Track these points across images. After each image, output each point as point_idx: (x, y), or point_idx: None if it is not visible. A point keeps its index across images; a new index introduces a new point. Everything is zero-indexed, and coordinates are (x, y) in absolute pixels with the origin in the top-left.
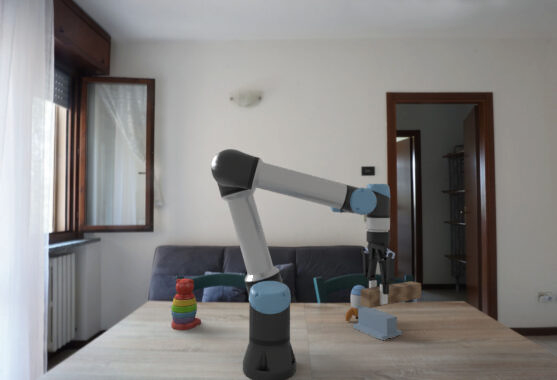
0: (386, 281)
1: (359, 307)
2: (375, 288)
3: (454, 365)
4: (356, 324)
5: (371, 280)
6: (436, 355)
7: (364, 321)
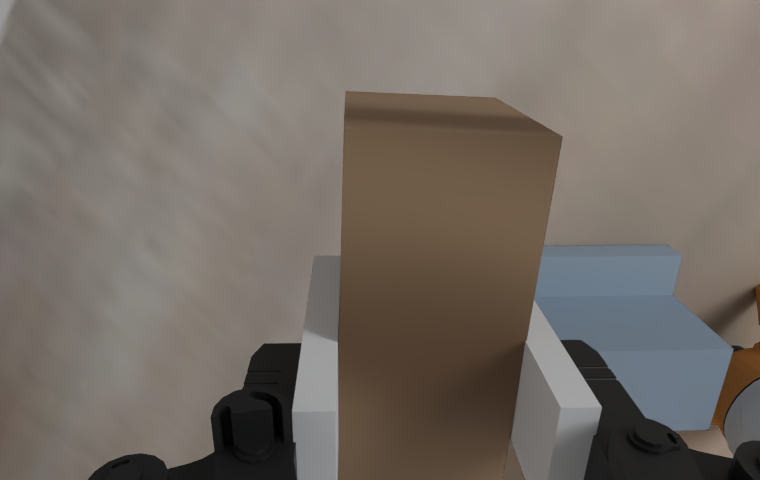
0: (155, 477)
1: (756, 389)
2: (456, 368)
3: (27, 321)
4: (664, 267)
5: (591, 453)
6: (151, 341)
7: (629, 308)
